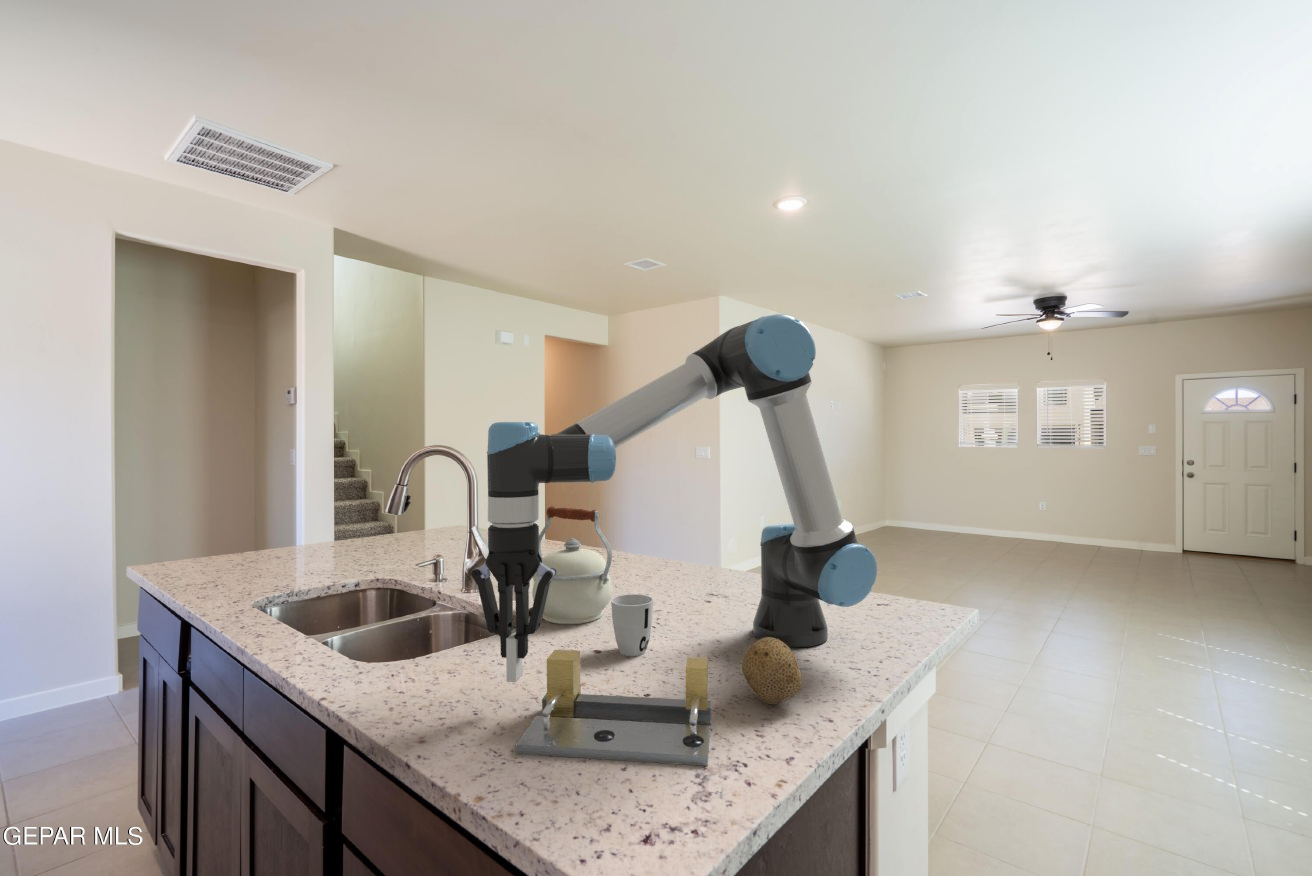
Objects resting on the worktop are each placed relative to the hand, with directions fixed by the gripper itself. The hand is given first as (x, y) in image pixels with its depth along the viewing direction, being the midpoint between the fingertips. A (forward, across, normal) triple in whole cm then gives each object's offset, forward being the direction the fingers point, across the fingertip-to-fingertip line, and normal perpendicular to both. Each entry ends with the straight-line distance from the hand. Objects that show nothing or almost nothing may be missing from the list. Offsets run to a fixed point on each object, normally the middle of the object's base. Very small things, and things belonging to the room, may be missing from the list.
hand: (514, 678), depth 91 cm
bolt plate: (+5, -17, +8) cm, 20 cm away
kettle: (+5, +5, -48) cm, 49 cm away
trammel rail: (+5, -17, +4) cm, 18 cm away
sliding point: (+4, -8, +3) cm, 9 cm away
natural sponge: (+5, -39, -8) cm, 40 cm away
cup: (+5, -14, -26) cm, 30 cm away
